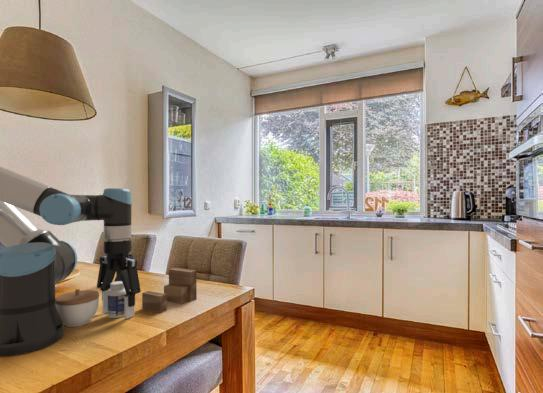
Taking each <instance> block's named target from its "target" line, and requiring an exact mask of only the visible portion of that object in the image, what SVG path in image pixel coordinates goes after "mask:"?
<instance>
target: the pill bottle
mask: <svg viewBox="0 0 543 393" xmlns="http://www.w3.org/2000/svg"><path fill="white" fill-rule="evenodd" d="M110 288H111V290H110V289H109V290H110V291H109V292H108V312H107V317H108V318H112V319H118V318H122V317H125V305H124V296H125V295H126V291H125V288H124V285H123V282H122V281H116V282H114V281H112V283H110Z"/></svg>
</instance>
